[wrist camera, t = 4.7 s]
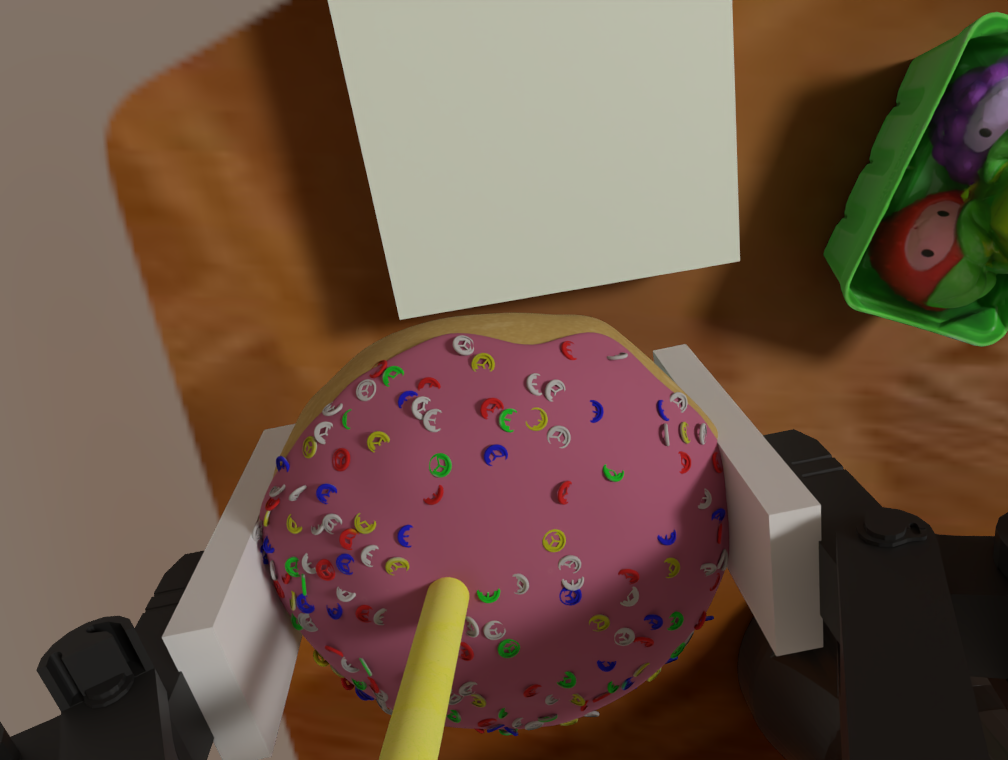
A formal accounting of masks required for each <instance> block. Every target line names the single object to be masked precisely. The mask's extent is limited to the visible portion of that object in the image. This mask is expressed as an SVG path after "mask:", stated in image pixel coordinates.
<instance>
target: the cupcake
mask: <svg viewBox="0 0 1008 760" xmlns="http://www.w3.org/2000/svg"><path fill="white" fill-rule="evenodd" d="M717 439H718V431H717V429H716V427H715V425H714V424H713V422H712V421H711V420H710V418H709V417H708V416H707V415H706V414H705V413H704V411H703V410H702V409H701V408H700V407H699V406H698V405H697V404H696V403H695V402H694V401H693V400H692V399H691V398H690V397H689V396H688V395H687V394H686V393H685V392H684V391H683V390H682V389H681V388H680V387H679V386H678V385H677V384H676V383H675V382H674V381H673V380H672V379H671V378H670V377H669V376H668V375H667V374H666V373H664V372H663V371H662V370H661V369H660V368H659V367H658V366H657V365H656V364H655V363H654V362H653V361H652V360H651V359H649V358H648V357H647V356H646V355H645V354H644V353H642V352H641V351H640V350H639V349H638V348H637V347H636V346H634V345H633V344H632V343H631V342H630V341H629V340H627V339H626V338H625V337H624V336H623V335H621V334H620V333H619V332H618V331H617V330H615V329H614V328H613V327H611V326H610V325H608V324H607V323H605V322H603V321H601V320H599V319H596V318H592V317H588V316H583V315H550V314H535V313H495V314H478V315H465V316H456V317H449V318H443V319H438V320H434V321H430V322H426V323H422V324H419V325H416V326H413V327H409V328H406V329H404V330H401V331H398V332H396V333H393V334H391V335H389V336H387V337H385V338H383V339H381V340H379V341H377V342H375V343H373V344H372V345H370V346H368V347H367V348H365V349H364V350H362V351H361V352H360V353H359V354H357V355H356V356H355V357H354V358H353V359H352V360H350V361H349V362H348V363H347V364H346V365H345V366H344V367H343V368H342V369H341V370H340V371H339V372H338V373H337V374H336V375H335V376H334V377H333V378H332V379H331V380H330V381H329V382H328V383H327V384H326V385H325V386H324V387H322V388H321V389H320V390H319V391H318V392H317V393H316V394H315V395H314V396H313V397H312V398H311V400H310V401H309V402H308V403H307V405H306V406H305V408H304V409H303V411H302V413H301V414H300V416H299V418H298V420H297V422H296V424H295V426H294V428H293V430H292V432H291V434H290V436H289V438H288V440H287V442H286V444H285V446H284V448H283V450H282V452H281V454H280V456H278V457H277V458H276V467H275V471H274V475H273V479H272V481H271V483H270V485H269V487H268V489H267V492H266V494H265V496H264V499H263V502H262V505H261V509H260V516H259V521H258V522H257V523H256V524H255V526H254V528H253V531H252V538H253V540H254V541H258V540H259V539H260V538H261V537H262V542H263V545H262V546H261V548H260V552H261V553H262V556H263V551H265V555H264V556H263V560H264V561H263V563H264V564H268V566H269V570H270V573H271V579H272V580H273V583H274V587H275V590H276V592H277V594H278V596H279V599H280V601H281V602H282V604H283V606H284V607H285V609H286V611H287V612H288V614H289V615H290V617H291V621H292V624H293V626H294V628H295V629H297V630H300V632H301V633H302V634H303V636H304V637H305V638H306V639H307V640H308V642H309V643H310V644H311V645H312V646H313V647H314V648H315V650H314V653H313V657H314V660H315V662H316V663H317V664H318V665H320V666H327V665H328V664H330V667H331V669H332V670H333V672H334V673H335V674H337V675H338V676H340V677H341V682H342V685H343V687H344V688H345V689H346V690H351V689H353V687H354V685H355V690H356V693H357V695H358V697H359V698H361V699H362V700H374V699H375V700H376V701H377V703H378V704H379V706H380V707H381V708H382V709H383V711H384V712H386V713H388V714H390V715H392V716H391V719H390V723H389V726H388V730H387V733H386V736H385V740H384V743H383V747H382V750H381V754H380V757H379V760H438V755H439V749H440V744H441V739H442V734H443V729H444V726H448V727H457V728H474V729H475V730H476V731H478V732H479V733H484V729H487V732H488V733H489V732H492V731H494V730H497V729H499V732H500V733H501V734H502V735H514V736H517V735H518V732H517V730H518V729H526V730H533V729H537V728H539V727H543V726H552V725H558V724H560V725H563V726H567V725H572V724H574V723H576V722H577V721H578V718H580V717H582V716H586V717H597V716H599V712H597V711H595V710H597V709H599V708H601V707H603V706H605V705H607V704H609V703H611V702H613V701H615V700H617V699H619V698H620V697H622V696H624V695H625V694H627V693H629V692H630V691H632V690H633V689H636V688H637V687H638V686H639V685H641V684H642V683H643V682H645V681H646V680H647V681H652V680H653V679H654V678H655V677H656V676H657V675H658V674H659V673H660V671H661V667H662V666H663V665H664V664H667V663H670V662H672V661H675V660H677V659H678V655H679V654H680V653H681V652H682V651H683V649H684V647H685V646H686V645H687V644H688V642H689V641H690V639H691V637H692V635H693V633H694V630H695V629H696V630H698V629H700V628H701V627H702V626H703V624H704V622H705V621H708V620H712V619H714V617H713V616H706V611H707V609H708V608H709V606H710V604H711V602H712V599H713V597H714V595H715V593H716V591H717V588H718V586H719V584H720V581H721V579H722V576H723V574H724V571H725V569H726V567H727V563H728V557H729V521H728V510H727V500H726V488H725V478H724V470H723V464H722V459H721V455H720V451H719V447H718V443H717ZM259 526H260V528H259ZM257 530H258V531H257ZM256 531H257V535H256ZM259 531H260V533H259ZM265 557H266V558H267V559H265ZM318 655H319V656H320V657H321V659H322V661H321V660H320V659H318ZM323 658H324V659H325V661H324V659H323ZM347 680H348V682H349V684H350V685H347V684H346V681H347ZM387 707H388V708H390V710H389V709H387ZM392 710H393V711H392ZM504 729H505V730H507V731H504Z"/></svg>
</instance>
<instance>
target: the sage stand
mask: <svg viewBox="0 0 1008 760" xmlns="http://www.w3.org/2000/svg"><path fill="white" fill-rule="evenodd" d="M328 4H329V9H330V13H331V17H332V22H333V26H334V31H335V35H336V40H337V44H338V48H339V53H340V57H341V62H342V66H343V71H344V75H345V79H346V84H347V88H348V93H349V97H350V102H351V106H352V110H353V115H354V119H355V124H356V128H357V133H358V137H359V141H360V146H361V150H362V155H363V159H364V164H365V168H366V173H367V177H368V181H369V186H370V190H371V195H372V199H373V204H374V208H375V212H376V217H377V221H378V226H379V230H380V235H381V239H382V243H383V248H384V252H385V257H386V261H387V266H388V270H389V274H390V279H391V283H392V288H393V292H394V297H395V301H396V305H397V310H398V314H399V319H400V320H401V319H407V318H413V317H419V316H425V315H430V314H436V313H442V312H448V311H454V310H459V309H465V308H471V307H477V306H483V305H489V304H494V303H500V302H506V301H512V300H518V299H523V298H529V297H535V296H541V295H547V294H552V293H558V292H564V291H570V290H576V289H581V288H587V287H593V286H599V285H605V284H610V283H616V282H622V281H628V280H634V279H640V278H645V277H651V276H657V275H663V274H669V273H674V272H680V271H686V270H692V269H698V268H703V267H709V266H715V265H721V264H727V263H732V262H738V261H740V241H739V208H738V176H737V144H736V112H735V80H734V48H733V16H732V0H328Z"/></svg>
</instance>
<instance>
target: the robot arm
mask: <svg viewBox="0 0 1008 760" xmlns="http://www.w3.org/2000/svg"><path fill="white" fill-rule="evenodd" d="M653 357H654V363H655V364H656V365H657V366H658V367H659V368H660V369H661V370H662V371H663V372H664V373H666V374H667V375H668V376H669V377H670V378H671V379H672V380H673V381H674V382H675V383H676V384H677V385H678V386H679V387H680V388H681V389H682V390H683V391H684V392H685V393H686V394H687V395H688V396H689V397H690V398H691V399H692V400H693V401H694V402H695V403H696V404H697V405H698V406H699V407H700V408H701V409H702V410H703V411H704V413H705V414H706V415H707V416H708V417H709V418H710V420H711V421H712V422H713V424H714V425H715V427H716V429H717V431H718V439H717V443H718V447H719V451H720V455H721V459H722V464H723V470H724V478H725V488H726V500H727V510H728V521H729V557H728V563H727V568H728V570H729V572H730V573H731V575H732V577H733V579H734V581H735V582H736V584H737V586H738V588H739V590H740V591H741V593H742V595H743V597H744V599H745V601H746V602H747V604H748V606H749V608H750V610H751V611H752V613H753V615H754V618H753V619H752V621H751V623H750V624H749V626H748V628H747V630H746V633H745V635H744V638H743V640H742V643H741V647H740V651H739V656H738V679H739V684H740V687H741V691H742V693H743V696H744V698H745V700H746V702H747V704H748V706H749V709H750V711H751V713H752V715H753V717H754V719H755V721H756V723H757V725H758V727H759V728H760V730H761V731H762V733H763V734H764V736H765V737H766V738H767V740H768V741H769V742H770V743H771V744H772V745H773V746H774V747H775V748H776V749H777V750H778V751H779V752H780V753H781V754H782V756H783V757H784V758H785V759H786V760H1008V512H1007V513H1006V514H1004V515H1003V516H1001V517H999V520H998V523H997V525H996V530H995V536H951V535H938V534H935V533H934V532H933V530H932V528H931V527H930V525H929V524H927V523H926V522H925V521H923V520H922V519H920V518H919V517H917V516H915V515H913V514H910V513H907V512H905V511H902V510H898V509H891V508H884V507H882V506H881V505H880V504H879V503H878V502H877V501H876V500H875V499H874V498H873V497H872V496H871V495H870V494H869V493H868V492H867V491H866V490H865V489H864V488H863V487H862V486H861V485H860V484H859V483H858V482H857V481H856V479H855V478H854V477H853V476H852V475H851V474H850V473H849V472H848V471H847V470H844V469H843V466H842V465H841V464H840V463H839V462H838V461H837V460H836V459H835V458H832V456H831V454H830V453H829V452H828V451H827V450H826V449H825V448H824V447H823V446H822V445H821V444H820V443H819V441H818V440H816V439H814V438H812V437H810V436H807V435H805V434H803V433H801V432H799V431H796V430H794V429H793V430H788V431H783V432H778V433H773V434H768V435H762V434H761V433H760V432H759V431H758V429H757V428H756V427H755V426H754V425H753V423H752V422H751V421H750V420H749V419H748V418H747V416H746V415H745V414H744V413H743V412H742V410H741V409H740V408H739V407H738V406H737V404H736V403H735V402H734V401H733V400H732V398H731V397H730V396H729V395H728V394H727V393H726V391H725V390H724V389H723V388H722V387H721V385H720V384H719V383H718V382H717V381H716V379H715V378H714V377H713V376H712V375H711V373H710V372H709V371H708V370H707V369H706V368H705V366H704V365H703V364H702V363H701V362H700V360H699V359H698V358H697V357H696V356H695V354H694V353H693V352H692V351H691V350H690V348H689V347H688V346H687V345H686V344H684V345H679V346H674V347H669V348H664V349H659V350H654V351H653ZM294 426H295V424H292V425H287V426H282V427H277V428H272V429H267V430H264V432H263V434H262V436H261V438H260V440H259V442H258V444H257V446H256V448H255V450H254V452H253V454H252V456H251V458H250V460H249V462H248V464H247V466H246V468H245V470H244V472H243V474H242V476H241V478H240V480H239V482H238V484H237V486H236V488H235V490H234V492H233V494H232V496H231V498H230V500H229V502H228V504H227V506H226V508H225V510H224V512H223V514H222V516H221V519H220V521H219V523H218V525H217V527H216V529H215V531H214V533H213V535H212V537H211V539H210V541H209V543H208V545H207V547H206V549H205V551H200V552H195V553H190V554H185V555H184V556H183V557H181V558H180V559H179V560H178V561H177V562H176V563H175V564H174V565H173V566H172V567H171V568H170V569H169V570H168V571H167V572H166V573H165V574H164V576H163V578H162V580H161V581H160V583H159V585H158V587H157V589H156V590H155V592H154V597H152V598H151V600H150V601H149V603H148V605H147V607H146V609H145V610H146V612H145V613H143V614H142V616H141V618H140V620H139V621H138V623H137V625H136V627H135V628H134V627H133V625H132V623H131V621H130V619H128V618H125V617H121V616H111V617H103V618H100V619H97V620H94V621H91V622H88V623H86V624H84V625H82V626H80V627H78V628H76V629H74V630H72V631H71V632H69V633H67V634H66V635H65V636H63V637H62V638H61V639H60V640H58V641H57V642H56V643H54V644H53V645H52V646H51V647H50V649H49V650H48V651H47V652H46V653H45V654H44V656H43V657H42V658H41V660H40V663H39V665H38V668H37V672H38V673H39V675H40V677H41V679H42V680H43V682H44V684H45V685H46V687H47V688H48V690H49V692H50V693H51V695H52V697H53V698H54V700H55V702H56V704H57V705H58V707H59V709H60V710H61V715H60V716H57V717H55V718H53V719H51V720H49V721H46V722H44V723H42V724H39V725H37V726H35V727H32V728H30V729H28V730H25V731H23V732H21V733H19V734H16V735H14V736H11V737H10V736H9V735H8V733H7V731H6V730H5V728H4V727H3V725H2V724H1V722H0V760H207V758H208V755H209V752H210V749H211V746H212V743H213V742H214V744H215V746H216V748H217V750H218V752H219V754H220V756H221V758H222V760H258V759H263V758H268V757H272V753H273V749H274V745H275V742H276V738H277V734H278V730H279V726H280V722H281V718H282V714H283V710H284V706H285V702H286V698H287V694H288V690H289V686H290V682H291V678H292V674H293V670H294V666H295V662H296V658H297V654H298V650H299V646H300V642H301V638H302V633H301V632H300V630H297V629H295V628H294V626H293V624H292V621H291V617H290V615H289V614H288V612H287V611H286V609H285V607H284V606H283V604H282V602H281V601H280V599H279V596H278V594H277V592H276V590H275V587H274V583H273V580H272V579H271V573H270V570H269V566H268V564H264V563H263V561H264V560H263V556H264V555H265V551H263V556H262V553H261V552H260V548H261V546H262V545H263V542H262V537H261V538H260V539H259V540H258V541H254V540H253V538H252V531H253V528H254V526H255V524H256V523H257V522H258V521H259V516H260V509H261V505H262V502H263V499H264V496H265V494H266V492H267V489H268V487H269V485H270V483H271V481H272V479H273V475H274V471H275V467H276V458H277V457H278V456H280V454H281V452H282V450H283V448H284V446H285V444H286V442H287V440H288V438H289V436H290V434H291V432H292V430H293V428H294ZM259 528H260V526H259ZM257 531H258V530H257ZM257 531H256V535H257ZM259 533H260V531H259ZM265 559H267V558H266V557H265Z"/></svg>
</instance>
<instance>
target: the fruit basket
mask: <svg viewBox="0 0 1008 760" xmlns="http://www.w3.org/2000/svg"><path fill="white" fill-rule="evenodd" d="M896 103H897V105H896V107H894V108H893V109H892V110H891V112H890V113H889V114H888V115H887V116H886V118H885V120H884V123H883V125H882V127H881V129H880V131H879V133H878V135H877V138H876V140H875V142H874V144H873V146H872V149H871V155H870V159H869V160H870V163H869V164H867V165H866V166H865V168H864V169H863V170H862V172H861V173H860V174H859V177H858V179H857V181H856V183H855V185H854V187H853V189H852V192H851V194H850V196H849V198H848V201H847V203H846V208H845V212H844V214H845V217H844V218H842V219H841V220H840V222H839V223H838V224H837V225H836V227H835V229H834V231H833V233H832V235H831V237H830V239H829V241H828V244H827V246H826V248H825V250H824V257H825V259H826V261H827V262H828V264H829V266H830V267H831V269H832V271H833V272H834V274H835V276H836V278H837V279H838V281H839V283H840V287H841V291H842V294H843V296H844V299H845V301H846V303H847V304H848V305H849V306H850V307H851V308H852V309H854V310H856V311H860V312H864V313H867V314H871V315H875V316H878V317H882V318H886V319H889V320H893V321H896V322H899V323H903V324H907V325H911V326H914V327H917V328H920V329H924V330H927V331H930V332H934V333H937V334H940V335H943V336H946V337H949V338H953V339H956V340H959V341H962V342H965V343H968V344H971V345H975V346H988V345H991V344H993V343H995V342H997V341H998V340H1000V339H1001V338H1002V337H1003V336H1004V335H1005V334H1006V332H1007V330H1008V15H1006V14H1002V13H998V12H995V13H989V14H986V15H984V16H982V17H981V18H979V19H978V20H976V21H975V22H973V23H972V24H971V25H969V26H968V27H966V28H965V29H963V31H962V32H961V33H960V34H959V35H957V36H955V37H954V38H952V39H950V40H948V41H946V42H944V43H943V44H941V45H939V46H937V47H935V48H933V49H931V50H930V51H928V52H926V53H924V54H922V55H920V56H918V57H916V58H915V59H914V60H913V61H912V62H911V64H910V66H909V68H908V70H907V72H906V75H905V77H904V79H903V81H902V83H901V86H900V88H899V90H898V94H897V99H896Z"/></svg>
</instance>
